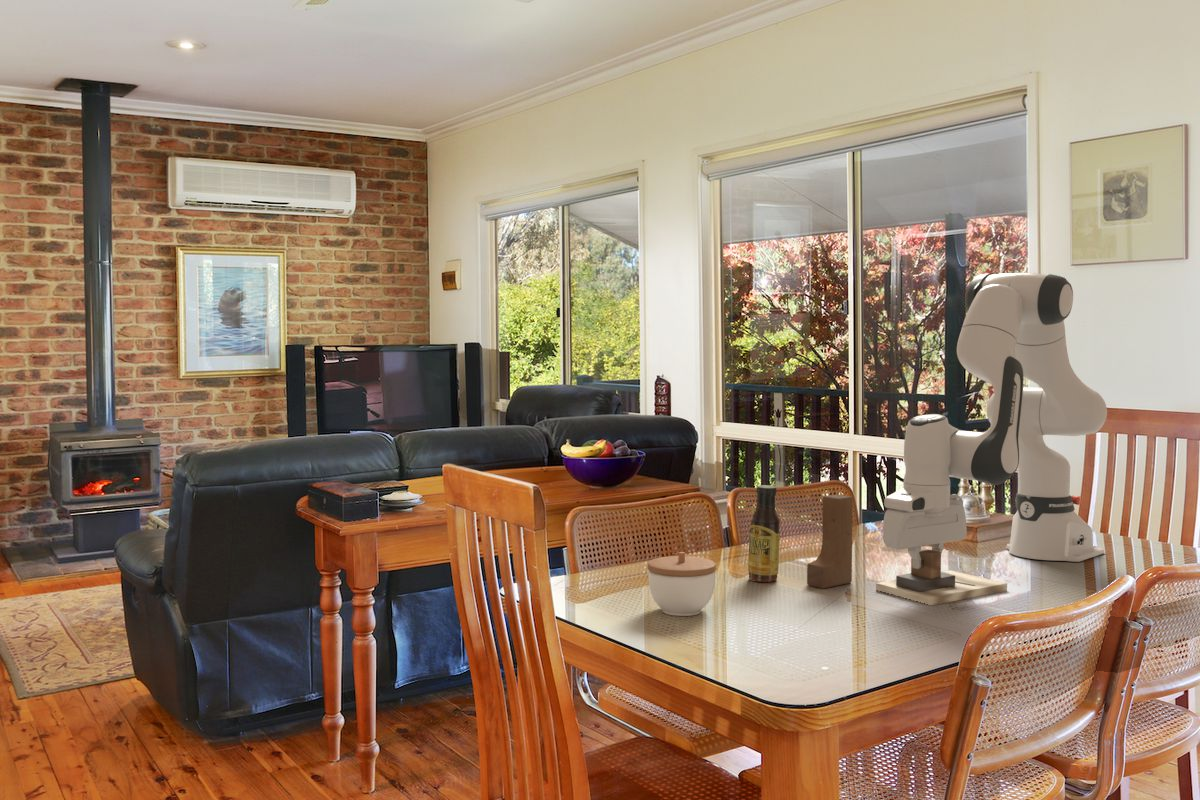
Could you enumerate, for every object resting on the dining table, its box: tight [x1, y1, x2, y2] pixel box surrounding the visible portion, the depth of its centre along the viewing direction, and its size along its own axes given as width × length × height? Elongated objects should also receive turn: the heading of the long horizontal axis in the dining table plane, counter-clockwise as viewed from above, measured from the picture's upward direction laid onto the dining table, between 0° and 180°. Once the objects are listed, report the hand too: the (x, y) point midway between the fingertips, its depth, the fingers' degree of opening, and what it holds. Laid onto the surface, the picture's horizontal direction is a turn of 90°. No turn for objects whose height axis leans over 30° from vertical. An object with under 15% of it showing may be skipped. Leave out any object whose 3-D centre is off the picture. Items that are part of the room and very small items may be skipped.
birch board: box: [875, 569, 1008, 606], centre depth 209 cm, size 22×14×2 cm, turn 121°
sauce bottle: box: [747, 484, 781, 584], centre depth 218 cm, size 6×6×20 cm
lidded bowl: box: [647, 551, 717, 617], centre depth 194 cm, size 13×13×11 cm
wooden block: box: [806, 494, 853, 590], centre depth 215 cm, size 9×4×18 cm, turn 126°
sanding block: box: [895, 547, 955, 592], centre depth 207 cm, size 10×6×7 cm, turn 121°
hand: (925, 566), depth 207 cm, fingers closed on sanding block, 3 cm apart
